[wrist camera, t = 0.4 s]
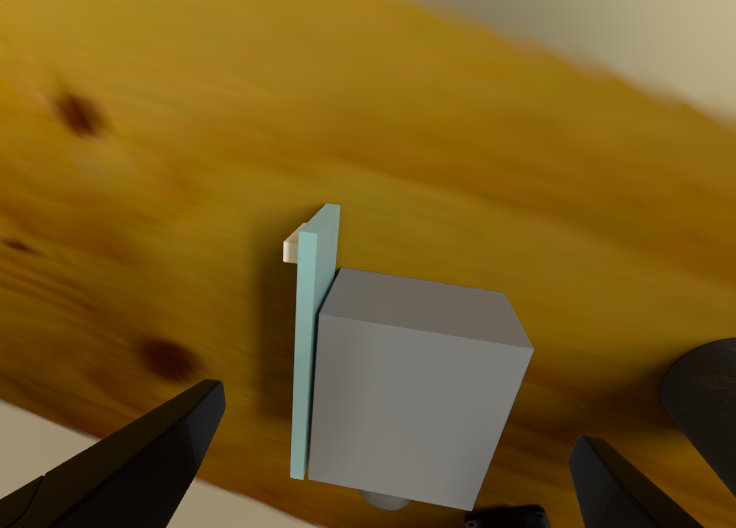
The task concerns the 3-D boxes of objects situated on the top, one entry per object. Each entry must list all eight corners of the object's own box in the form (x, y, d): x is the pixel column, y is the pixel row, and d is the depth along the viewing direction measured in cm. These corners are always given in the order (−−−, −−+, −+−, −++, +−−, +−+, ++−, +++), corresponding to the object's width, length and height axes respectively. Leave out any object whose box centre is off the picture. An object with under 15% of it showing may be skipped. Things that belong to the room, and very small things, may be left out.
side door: (323, 412, 26) (302, 479, 21) (299, 408, 26) (274, 474, 21) (340, 205, 19) (317, 234, 14) (309, 200, 19) (275, 227, 15)
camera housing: (452, 455, 26) (462, 534, 21) (326, 431, 27) (306, 503, 22) (504, 292, 20) (534, 349, 15) (341, 267, 21) (319, 313, 16)
